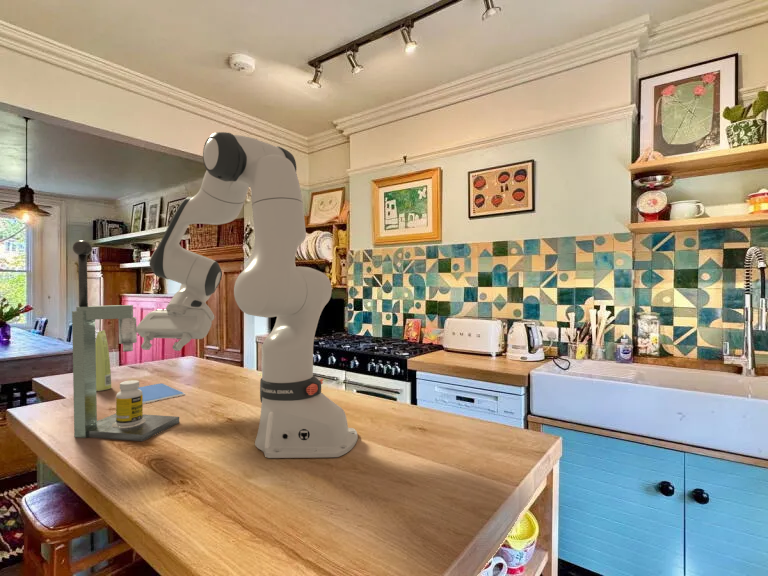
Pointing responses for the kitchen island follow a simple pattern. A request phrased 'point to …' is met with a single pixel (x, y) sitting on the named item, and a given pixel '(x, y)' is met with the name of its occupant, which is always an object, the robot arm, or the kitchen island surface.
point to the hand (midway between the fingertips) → (160, 349)
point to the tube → (102, 362)
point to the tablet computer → (158, 392)
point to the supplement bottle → (129, 403)
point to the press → (86, 365)
